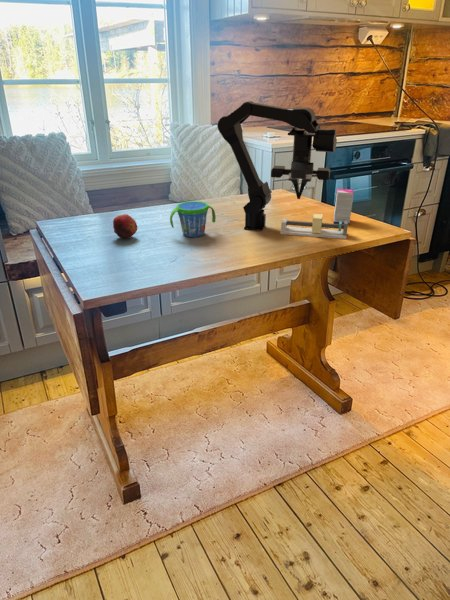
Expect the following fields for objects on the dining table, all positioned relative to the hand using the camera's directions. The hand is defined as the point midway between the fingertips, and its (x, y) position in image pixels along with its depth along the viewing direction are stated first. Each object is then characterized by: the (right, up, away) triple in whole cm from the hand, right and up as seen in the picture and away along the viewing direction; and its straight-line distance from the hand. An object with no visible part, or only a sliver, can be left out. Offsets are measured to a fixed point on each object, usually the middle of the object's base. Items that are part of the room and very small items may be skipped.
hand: (298, 198), depth 155 cm
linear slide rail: (+6, -11, +4) cm, 13 cm away
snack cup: (-36, -12, +4) cm, 38 cm away
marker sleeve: (+7, -10, +3) cm, 13 cm away
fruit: (-58, -13, +1) cm, 60 cm away
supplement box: (+18, -5, +16) cm, 25 cm away
